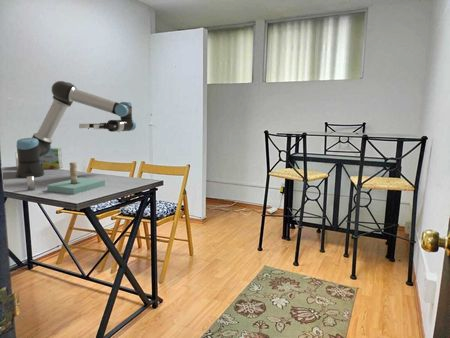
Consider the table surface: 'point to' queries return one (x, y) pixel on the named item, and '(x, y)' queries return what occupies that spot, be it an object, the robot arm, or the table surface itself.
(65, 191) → the hole plate
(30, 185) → the short pin
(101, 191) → the table surface
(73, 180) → the tall pin
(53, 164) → the snack box
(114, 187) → the table surface
